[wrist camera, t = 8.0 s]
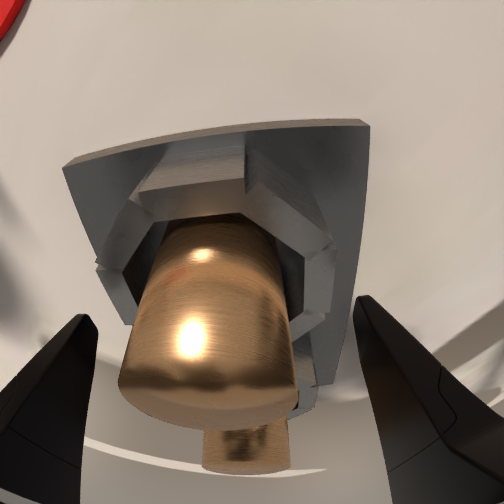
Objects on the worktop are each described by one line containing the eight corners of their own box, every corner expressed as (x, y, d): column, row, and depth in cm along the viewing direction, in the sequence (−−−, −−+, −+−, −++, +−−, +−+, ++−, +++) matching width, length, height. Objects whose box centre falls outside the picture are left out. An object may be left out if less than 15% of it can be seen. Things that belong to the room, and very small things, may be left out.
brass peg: (278, 276, 13) (297, 426, 8) (181, 285, 14) (156, 428, 8) (270, 184, 11) (301, 346, 5) (154, 199, 11) (84, 353, 5)
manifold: (75, 157, 11) (-50, 282, 4) (359, 118, 10) (501, 234, 4) (177, 380, 22) (165, 475, 15) (330, 370, 21) (347, 469, 15)
